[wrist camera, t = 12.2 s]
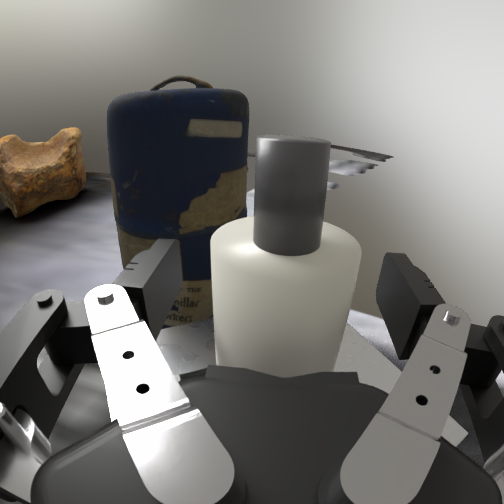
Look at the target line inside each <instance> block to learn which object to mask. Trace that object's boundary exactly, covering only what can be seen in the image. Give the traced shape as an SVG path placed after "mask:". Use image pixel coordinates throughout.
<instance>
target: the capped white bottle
mask: <svg viewBox="0 0 504 504" xmlns="http://www.w3.org/2000/svg"><path fill="white" fill-rule="evenodd" d="M330 148H331V142H329V141H327V140H323V139H318V138H312V137H304V136H293V135H261V136H257V137H256V166H255V196H254V216H251V217H245V218H241V219H237V220H234V221H231V222H229V223H227V224H225V225H223V226H221V227H220V228H218V229H217V230H216V231H215V232H214V233H213V235H212V237H211V240H210V248H211V276H212V298H213V318H214V336H215V352H216V365H217V366H228V367H239V368H247V369H250V370H254V371H258V372H262V373H265V374H269V375H273V376H277V377H282V378H287V377H294V376H300V375H306V374H312V373H317V372H333V371H334V367H335V364H336V360H337V357H338V353H339V349H340V346H341V342H342V338H343V334H344V331H345V327H346V323H347V319H348V315H349V311H350V306H351V302H352V298H353V293H354V289H355V284H356V279H357V275H358V270H359V265H360V260H361V255H362V251H361V247H360V245H359V243H358V242H357V240H356V239H355V238H354V237H352V236H351V235H350V234H349V233H347V232H346V231H344V230H342V229H340V228H338V227H336V226H334V225H331V224H329V223H326V222H323V219H324V210H325V201H326V200H325V199H326V191H327V181H328V171H329V159H330Z"/></svg>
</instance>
